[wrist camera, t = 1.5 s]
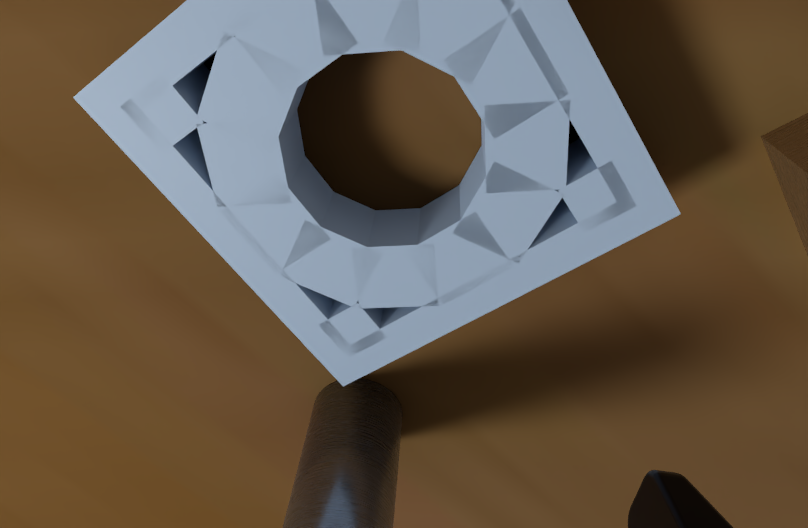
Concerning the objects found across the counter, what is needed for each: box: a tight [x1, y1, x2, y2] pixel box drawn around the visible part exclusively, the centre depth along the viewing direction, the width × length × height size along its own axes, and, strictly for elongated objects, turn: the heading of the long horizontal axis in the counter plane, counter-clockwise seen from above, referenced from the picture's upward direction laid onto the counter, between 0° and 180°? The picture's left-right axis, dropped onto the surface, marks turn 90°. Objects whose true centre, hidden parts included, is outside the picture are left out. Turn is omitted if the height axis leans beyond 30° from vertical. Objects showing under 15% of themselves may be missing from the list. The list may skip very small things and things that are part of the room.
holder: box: [73, 0, 681, 386], centre depth 19 cm, size 12×12×2 cm
